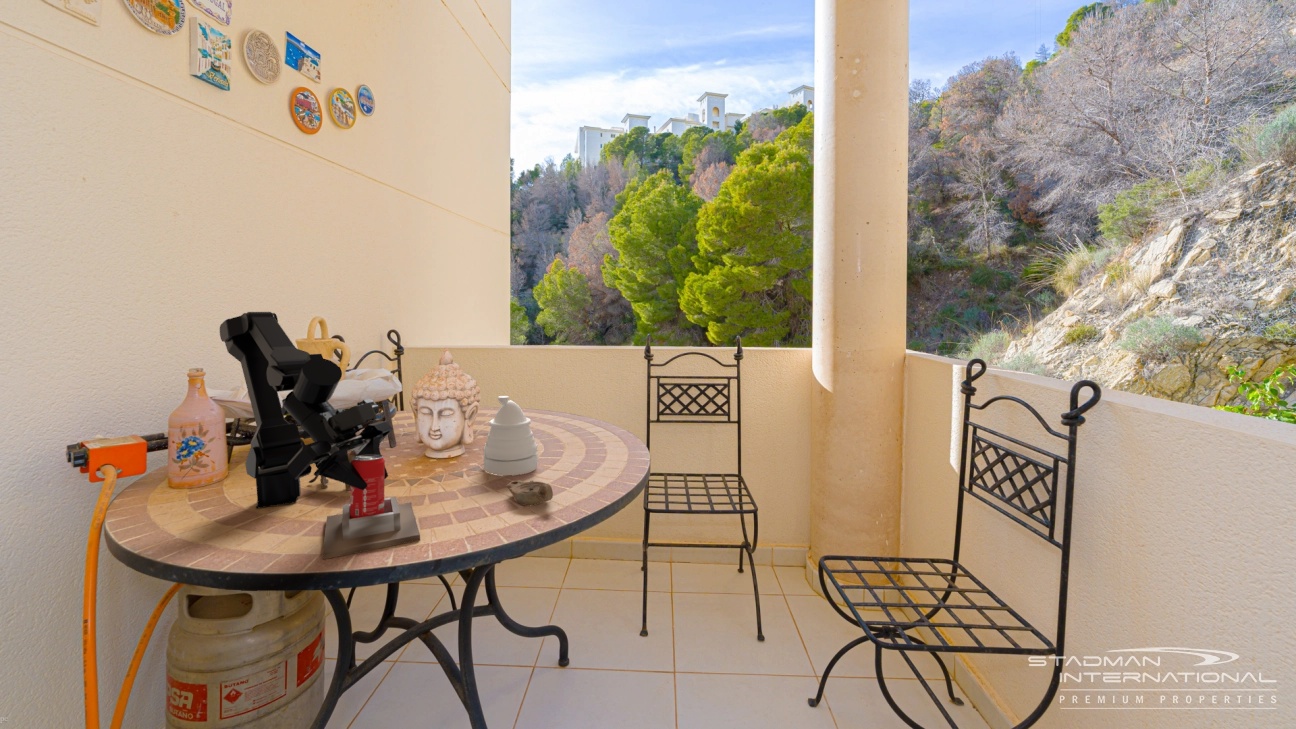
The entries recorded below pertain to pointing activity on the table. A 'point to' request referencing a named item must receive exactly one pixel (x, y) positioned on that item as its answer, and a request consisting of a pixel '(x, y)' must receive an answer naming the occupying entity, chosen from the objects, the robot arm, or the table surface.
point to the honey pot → (510, 442)
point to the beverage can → (368, 486)
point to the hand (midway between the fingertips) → (376, 482)
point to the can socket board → (370, 530)
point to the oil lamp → (530, 492)
